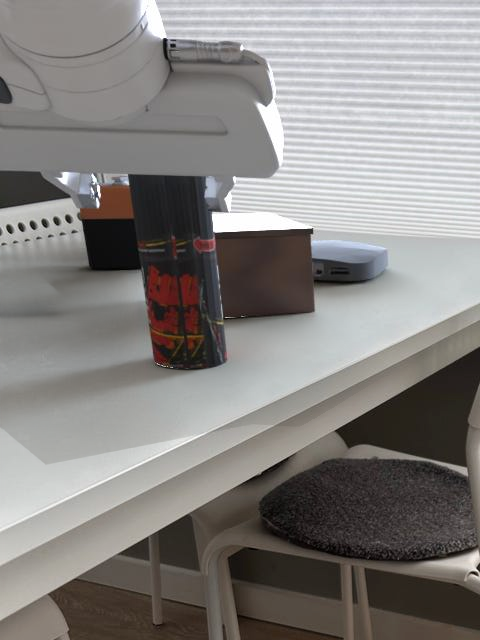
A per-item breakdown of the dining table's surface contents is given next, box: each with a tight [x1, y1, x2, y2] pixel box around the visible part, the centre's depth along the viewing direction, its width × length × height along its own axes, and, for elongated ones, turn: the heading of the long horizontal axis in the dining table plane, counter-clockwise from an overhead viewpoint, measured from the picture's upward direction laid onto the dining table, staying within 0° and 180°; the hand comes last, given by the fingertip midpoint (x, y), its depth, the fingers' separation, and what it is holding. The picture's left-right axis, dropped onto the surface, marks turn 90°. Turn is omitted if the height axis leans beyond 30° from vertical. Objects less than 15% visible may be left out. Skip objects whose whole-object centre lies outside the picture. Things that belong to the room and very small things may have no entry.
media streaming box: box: [311, 239, 389, 282], centre depth 117 cm, size 15×15×3 cm
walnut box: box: [212, 212, 316, 318], centre depth 97 cm, size 12×12×8 cm
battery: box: [79, 175, 141, 271], centre depth 114 cm, size 4×7×10 cm, turn 111°
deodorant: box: [127, 174, 228, 369], centre depth 76 cm, size 6×6×15 cm
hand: (155, 202), depth 69 cm, fingers open, 8 cm apart
